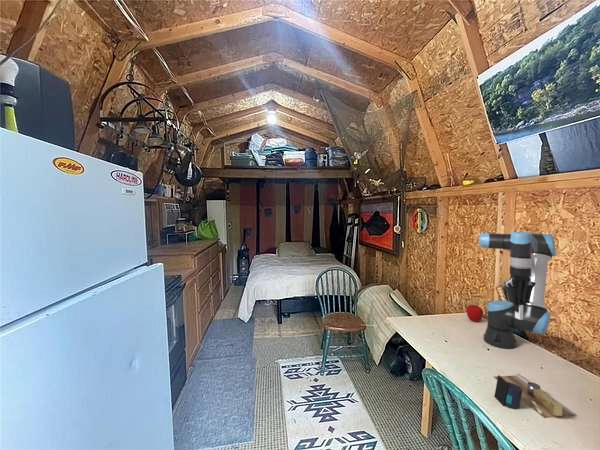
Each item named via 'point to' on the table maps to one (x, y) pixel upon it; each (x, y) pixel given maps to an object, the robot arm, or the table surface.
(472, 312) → the apple
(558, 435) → the table surface
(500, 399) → the speaker
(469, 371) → the table surface
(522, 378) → the plate
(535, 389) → the latch bar
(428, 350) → the table surface
